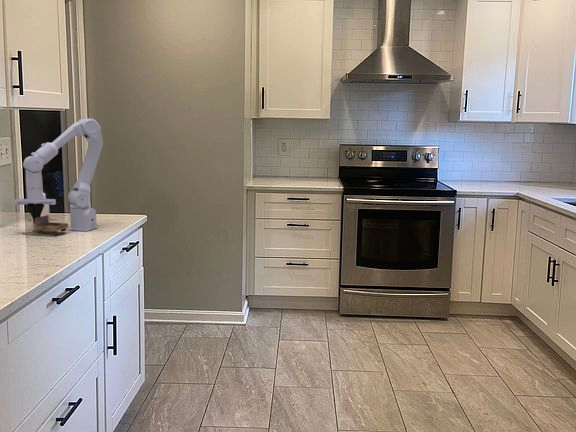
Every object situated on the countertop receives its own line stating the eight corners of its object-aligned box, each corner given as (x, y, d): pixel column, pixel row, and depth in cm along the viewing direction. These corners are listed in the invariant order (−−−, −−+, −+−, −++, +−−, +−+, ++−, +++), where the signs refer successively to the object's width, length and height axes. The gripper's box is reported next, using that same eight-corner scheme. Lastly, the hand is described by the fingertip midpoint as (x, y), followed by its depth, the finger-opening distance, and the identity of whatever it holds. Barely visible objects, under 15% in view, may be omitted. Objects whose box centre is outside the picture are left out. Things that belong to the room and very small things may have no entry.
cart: (68, 231, 222) (67, 216, 221) (55, 235, 214) (55, 219, 213) (47, 229, 224) (46, 215, 223) (34, 233, 216) (33, 218, 215)
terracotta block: (49, 226, 234) (48, 214, 233) (42, 228, 230) (42, 216, 229) (40, 226, 235) (39, 214, 234) (33, 228, 231) (32, 215, 230)
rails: (63, 232, 222) (63, 231, 222) (52, 236, 215) (52, 235, 215) (33, 230, 225) (33, 229, 225) (22, 234, 218) (21, 233, 218)
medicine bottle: (32, 218, 251) (30, 191, 249) (49, 218, 254) (48, 191, 252) (31, 221, 245) (29, 193, 243) (49, 220, 247) (47, 193, 245)
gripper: (57, 186, 222) (59, 221, 225) (18, 186, 221) (20, 221, 223) (51, 189, 215) (53, 224, 218) (11, 189, 214) (14, 224, 216)
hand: (36, 223), depth 220 cm, fingers closed
